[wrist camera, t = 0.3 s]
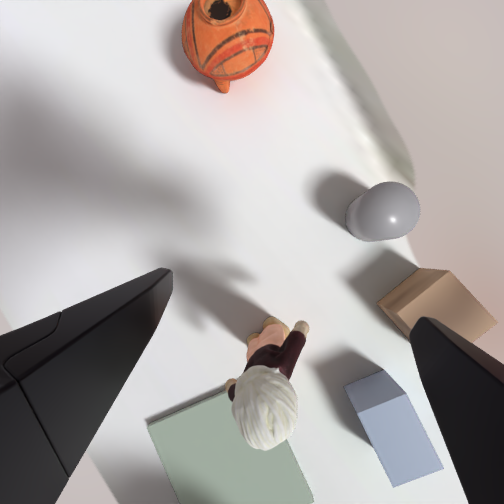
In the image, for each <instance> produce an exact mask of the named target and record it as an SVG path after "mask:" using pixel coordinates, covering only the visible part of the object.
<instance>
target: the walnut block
mask: <svg viewBox="0 0 504 504" xmlns="http://www.w3.org/2000/svg"><path fill="white" fill-rule="evenodd" d="M376 304H377V305H378V306H379V307H380V308H381V309H382V310H383V311H384V312H385V314H386V315H387V316H388V317H389V318H390V319H391V320H392V321H393V323H394V324H395V325H396V326H397V327H398V328H399V329H400V330H401V332H402V333H403V334H404V335H405V336H406V337H407V338H408V339H409V334H410V331H411V330H412V328H413V326H414V325H415V323H416V322H417V320H418V319H419V318H420V317H422V316H426V317H431V318H435V319H437V320H438V321H440V322H441V323H443V324H444V325H446V326H447V327H449V328H450V329H452V330H453V331H455V332H456V333H458V334H459V335H461V336H462V337H463V338H465V339H466V340H468V341H469V342H471V343H473V342H474V341H475V340H476V339H478V338H479V337H480V336H482V335H483V334H484V333H486V332H487V331H488V330H489V329H490V328H492V327H493V326H495V325H496V324H497V323H498V322H497V321H496V320H495V319H494V317H493V316H492V315H491V314H490V313H489V312H488V311H487V310H486V309H485V308H484V307H483V306H482V305H481V304H480V302H479V301H478V300H477V299H476V298H475V297H474V296H473V295H472V294H471V293H470V292H469V291H468V290H467V289H466V288H465V286H464V285H463V284H462V283H461V282H460V281H459V280H458V279H457V278H456V277H455V276H454V275H453V274H452V273H451V272H450V271H447V270H437V269H425V268H419V269H418V270H417V271H415V272H414V273H413V274H412V275H410V276H409V277H408V278H407V279H406V280H404V281H403V282H402V283H401V284H399V285H398V286H397V287H396V288H394V289H393V290H392V291H391V292H390V293H388V294H387V295H386V296H385V297H383V298H382V299H381V300H380V301H378V302H377V303H376Z"/></svg>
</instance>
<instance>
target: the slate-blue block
mask: <svg viewBox="0 0 504 504" xmlns="http://www.w3.org/2000/svg"><path fill="white" fill-rule="evenodd" d="M344 389H345V391H346V393H347V395H348V397H349V399H350V401H351V403H352V405H353V407H354V409H355V411H356V413H357V415H358V417H359V419H360V421H361V423H362V425H363V427H364V430H365V432H366V434H367V436H368V438H369V440H370V442H371V444H372V446H373V448H374V450H375V452H376V454H377V456H378V458H379V460H380V462H381V464H382V466H383V468H384V470H385V472H386V474H387V476H388V478H389V480H390V482H391V484H392V486H393V488H394V487H396V486H399V485H402V484H404V483H407V482H410V481H412V480H415V479H418V478H420V477H423V476H426V475H428V474H431V473H434V472H436V471H439V470H442V469H444V467H443V465H442V463H441V461H440V459H439V457H438V455H437V453H436V451H435V449H434V447H433V445H432V443H431V441H430V439H429V437H428V435H427V433H426V431H425V429H424V427H423V425H422V423H421V421H420V419H419V417H418V415H417V413H416V411H415V409H414V407H413V405H412V403H411V402H410V400H409V398H408V396H407V394H406V392H405V391H404V390H403V389H402V388H401V387H400V386H399V385H398V384H397V383H396V382H395V381H394V380H393V379H392V377H391V376H390V375H389V374H388V373H387V372H386V371H385V370H382V371H379V372H377V373H375V374H372V375H370V376H367V377H365V378H363V379H360V380H358V381H356V382H353V383H351V384H348V385H346V386H344Z"/></svg>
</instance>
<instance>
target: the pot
mask: <svg viewBox="0 0 504 504" xmlns="http://www.w3.org/2000/svg"><path fill="white" fill-rule="evenodd" d="M273 38H274V24H273V20H272V16H271V15H270V12H269V10H268V7H267V5H266V4H265V2H264V1H263V0H192V2H191V3H190V5H189V7H188V9H187V11H186V14H185V16H184V20H183V25H182V44H183V49H184V52H185V54H186V56H187V57H188V59H189V60H190V62H191V64H192V65H193V66H194V68H195V69H196V70H197V71H198V72H200V73H201V74H203V75H205V76H207V77H210V78H213V79H214V81H215V83H216V85H217V87H218V88H219V89H220V91H221V92H223V93H228V91H229V86H230V81H232V80H237V79H241V78H244V77H246V76H248V75H250V74H251V73H252V72H254V71H255V70H256V69H257V68H258V67H259V66H260V65H261V64H262V63H263V62H264V61H265V60H266V58H267V56H268V54H269V52H270V49H271V47H272V43H273Z"/></svg>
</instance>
